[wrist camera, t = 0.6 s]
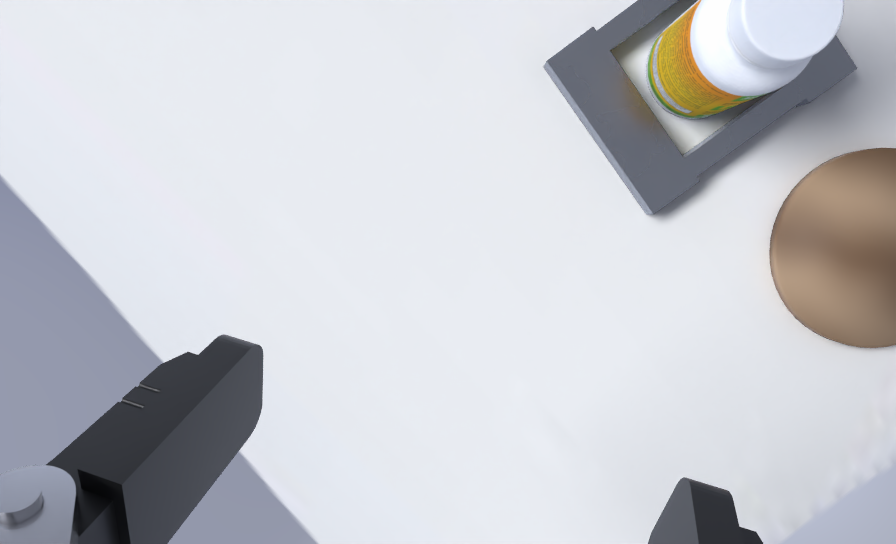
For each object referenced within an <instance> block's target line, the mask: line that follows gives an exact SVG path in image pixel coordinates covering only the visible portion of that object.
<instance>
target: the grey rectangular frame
mask: <svg viewBox="0 0 896 544" xmlns="http://www.w3.org/2000/svg"><path fill="white" fill-rule="evenodd" d="M678 1H679V0H638V1H636V2H635V3H634V4H632V5H631V6H630V7H628V8H627V9H626V10H624V11H623V12H622V13H620V14H619V15H618V16H616V17H615V18H614V19H612V20H611V21H610V22H608V23H607V24H605V25H604V26H603V27H601V28H600V29H599V30H597V31H596V30H595V28H594V27H592V28H590V29H589V30H588V31H586V32H585V33H584V34H582V35H581V36H580V37H578V38H577V39H576V40H574V41H573V42H572V43H570V44H569V45H568V46H566V47H565V48H564V49H562V50H561V51H560V52H558V53H557V54H556V55H554V56H553V57H552V58H550V59H549V60H547V61H546V63H545V65H544V66H543V67H544V69H545V70H546V72H547V73H548V74H549V76H550V77H551V79H552V80H553V82H554V83H555V84H556V86H557V87H558V89H559V90H560V92H561V93H562V94H563V96H564V97H565V99H566V100H567V102H568V103H569V104H570V106H571V107H572V109H573V110H574V112H575V113H576V114H577V116H578V117H579V119H580V120H581V122H582V123H583V125H584V126H585V127H586V129H587V130H588V132H589V133H590V135H591V136H592V137H593V139H594V140H595V142H596V143H597V145H598V146H599V147H600V149H601V150H602V152H603V153H604V155H605V156H606V157H607V159H608V160H609V162H610V163H611V165H612V166H613V167H614V169H615V170H616V172H617V173H618V175H619V176H620V178H621V179H622V180H623V182H624V183H625V185H626V186H627V188H628V189H629V190H630V192H631V193H632V195H633V196H634V198H635V199H636V200H637V202H638V203H639V205H640V206H641V208H642V209H643V210H644V212H645V213H646V214H655V213H656V212H657V211H659V210H660V209H662V208H663V207H664V206H666V205H667V204H669V203H670V202H671V201H673V200H674V199H676V198H677V197H678V196H680V195H681V194H683V193H684V192H685V191H687V190H688V189H690V188H691V187H692V186H694V185H695V184H697V183H698V182H699V180H698V178H697V176H698V175H700V174H701V173H702V172H704V171H705V170H707V169H708V168H709V167H711V166H712V165H714V164H715V163H716V162H718V161H719V160H721V159H722V158H723V157H725V156H726V155H728V154H729V153H730V152H732V151H733V150H734V149H736V148H737V147H739V146H740V145H741V144H743V143H744V142H746V141H747V140H748V139H750V138H751V137H753V136H754V135H755V134H757V133H758V132H760V131H761V130H762V129H764V128H765V127H767V126H768V125H769V124H771V123H772V122H774V121H775V120H776V119H778V118H779V117H781V116H782V115H783V114H785V113H786V112H788V111H789V110H790V109H792V108H793V107H794V106H796V107H797V106H801V105H804V104H807V103H810V102H811V101H812V100H814V99H815V98H817V97H818V96H819V95H821V94H822V93H824V92H825V91H826V90H828V89H829V88H831V87H832V86H833V85H835V84H836V83H838V82H839V81H840V80H842V79H843V78H845V77H846V76H847V75H849V74H850V73H852V72H853V71H854V70H856V69H857V67H856V66H855V64H854V62H853V61H852V59H851V58H850V56H849V55H848V53H847V52H846V50H845V49H844V47H843V46H842V44H841V43H840V41H839V39H838V38H837V36H836V35H835V36H834V38H833V39H832V40H831V42H830V43H829V44H828V45H827V46H826V47H825V48H824V49H822V50H821V51H820V52H818V53H817V54H815V55H814V56H812V58H811V60H810V61H809V63H808V64H807V66H806V67H805V68H804V70H803V71H802V72H801V73H800V74H799V75H798V76H797V77H796V78H794V79H793V80H792V81H791V82H789V83H788V84H786V85H784V86H783V87H781V88H779V89H776V90H774V91H772V92H770V93H769V94H767V95H766V96H765V97H763V98H762V99H760V100H759V101H758V102H756V103H755V104H753V105H752V106H751V107H749V108H748V109H746V110H745V111H744V112H742V113H741V114H740V115H738V116H737V117H735V118H734V119H733V120H731V121H730V122H728V123H727V124H726V125H724V126H723V127H722V128H720V129H719V130H717V131H716V132H715V133H713V134H712V135H710V136H709V137H708V138H706V139H705V140H703V141H702V142H701V143H699V144H698V145H697V146H695V147H694V148H692V149H691V150H690V151H688V152H687V153H685V154H684V155H683V156H682V155H681V153H680V152H679V150H678V149H677V148H676V146H675V145H674V143H673V142H672V140H671V139H670V137H669V136H668V134H667V133H666V132H665V130H664V129H663V127H662V126H661V124H660V123H659V121H658V120H657V118H656V117H655V116H654V114H653V113H652V111H651V110H650V108H649V107H648V105H647V104H646V102H645V101H644V100H643V98H642V97H641V95H640V94H639V92H638V91H637V89H636V88H635V86H634V85H633V84H632V82H631V81H630V79H629V78H628V76H627V75H626V73H625V72H624V70H623V69H622V68H621V66H620V65H619V63H618V62H617V60H616V59H615V57H614V56H613V54H612V53H611V50H613V49H614V48H616V47H617V46H618V45H620V44H621V43H622V42H624V41H625V40H626V39H628V38H629V37H630V36H632V35H633V34H634V33H636V32H637V31H639V30H640V29H641V28H643V27H644V26H645V25H647V24H648V23H649V22H651V21H652V20H653V19H655V18H656V17H657V16H659V15H660V14H661V13H663V12H664V11H666V10H667V9H668V8H670V7H671V6H672V5H674V4H675V3H676V2H678Z"/></svg>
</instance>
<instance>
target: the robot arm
mask: <svg viewBox="0 0 896 544" xmlns="http://www.w3.org/2000/svg"><path fill="white" fill-rule="evenodd" d="M262 390H263V349H262V347H261V346H260V345H257V344H254V343H250V342H247V341H244V340H241V339H237V338H234V337H231V336H228V335H221V336H219V337H217V338H216V339H215V340H214V341H213V342H212V343H211V344H210V345H209V346H207V347H206V348H205V349H204V350H203V351H202V352H201V353H200V354H199V355H196V354H193V353H190V352H187V353H185V354H182V355H180V356H178V357H176V358H174V359H172V360H169V361H167V362H165V363H163V364H161V365H160V366H158V367H157V368H156V369H155V370H154V371H153V372H152V373H150V374H149V375H148V376H147V377H146V378H145V379H144V380H142V381H141V382H140V384H139V386H138V387H135V388H134V389H132V390H131V391H130V392H129V393H128V394H127V395H125V396H124V397H123V399H122V401H121V402H118V403H116V404H115V405H114V406H113V407H112V408H111V409H110V410H108V411H107V412H106V413H105V414H104V415H103V416H102V417H100V418H99V419H98V420H97V421H96V422H95V423H94V424H93V425H91V426H90V427H89V428H88V429H87V430H86V431H85V432H84V433H83V434H81V435H80V436H79V437H78V438H77V439H76V440H74V441H73V442H72V443H71V444H70V445H69V446H68V447H67V448H65V449H64V450H63V451H62V452H61V453H60V454H59V455H57V456H56V457H55V458H54V459H53V460H52V461H50V462H49V463H48V464H46V465H33V466H25V467H20V468H16V469H13V470H10V471H7V472H5V473H2V474H0V544H167V543H168V542H169V540H170V539H171V538H172V537H173V535H174V534H175V533H176V531H177V530H178V529H179V528H180V526H181V525H182V524H183V522H184V521H185V520H186V519H187V517H188V516H189V515H190V513H191V512H192V511H193V509H194V508H195V507H196V506H197V504H198V503H199V502H200V500H201V499H202V498H203V496H204V495H205V494H206V493H207V491H208V490H209V489H210V487H211V486H212V485H213V484H214V482H215V481H216V479H217V478H218V477H219V476H220V474H221V473H222V472H223V471H224V469H225V468H226V467H227V465H228V464H229V463H230V461H231V460H232V459H233V458H234V456H235V455H236V454H237V452H238V451H239V450H240V449H241V447H242V446H243V445H244V443H245V442H246V441H247V439H248V438H249V437H250V435H251V434H252V432H253V431H254V429H255V427H256V424H257V422H258V420H259V417H260V413H261V409H262ZM648 544H763V542H762V541H761V539H760V537H759V536H758V534H757V533H756V532H754V531H751V530H748V529H745V528H742V527H739V524H738V519H737V515H736V510H735V506H734V501H733V498H732V495H731V494H730V492H729V491H727V490H724V489H721V488H718V487H714V486H711V485H708V484H705V483H701V482H698V481H695V480H692V479H688V478H682V479H681V480H680V481H679V482H678V484H677V485H676V487H675V489H674V491H673V493H672V495H671V497H670V499H669V501H668V502H667V504H666V506H665V508H664V510H663V512H662V514H661V516H660V517H659V519H658V521H657V523H656V525H655V527H654V529H653V531H652V533H651V536H650V539H649V542H648Z"/></svg>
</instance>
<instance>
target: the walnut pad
mask: <svg viewBox="0 0 896 544" xmlns="http://www.w3.org/2000/svg"><path fill="white" fill-rule="evenodd" d="M770 266H771V272H772V277H773V280H774V283H775V286H776V289H777V291H778V293H779V295H780V297H781V299H782V301H783V302H784V304H785V305H786V307H787V308H788V310H789V311H790V312H791V313H792V314H793V315H794V317H795V318H796V319H797V320H798V321H800V322H801V323H802V324H803V325H804V326H805V327H807V328H809V329H810V330H812V331H813V332H815V333H817V334H819V335H821V336H823V337H825V338H827V339H830V340H833V341H837V342H840V343H843V344H846V345H850V346H856V347H865V348H878V347H888V346H892V345H896V148H876V149H867V150H860V151H856V152H851V153H846V154H844V155H841V156H838V157H835V158H833V159H831V160H829V161H827V162H825V163H823V164H821V165H820V166H818V167H817V168H815V169H814V170H812V171H811V172H810V173H809V174H807V175H806V176H805V177H804V178H803V179H802V180H801V181H800V182H799V183H798V184H797V185H796V186H795V187H794V188H793V190H792V191H791V192H790V194H789V195H788V197H787V198H786V199H785V201H784V203H783V205H782V207H781V208H780V210H779V212H778V215H777V217H776V220H775V223H774V226H773V230H772V235H771V240H770Z"/></svg>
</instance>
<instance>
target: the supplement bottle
mask: <svg viewBox="0 0 896 544" xmlns="http://www.w3.org/2000/svg"><path fill="white" fill-rule="evenodd" d="M843 12H844V0H698V1H697V2H696V3H694V4H693V5H692V6H691V7H690V8H689V9H688V10H686V11H685V12H684V13H683V14H682V15H681V16H679V17H678V18H677V19H676V20H675V21H674V22H673V23H671V24H670V25H669V26H668V27H667V28H666V29H665V30H664V31H663V32H662V33H661V34H660V35H659V36H658V37H657V39H656V40H655V42H654V43H653V45H652V47H651V49H650V52H649V55H648V58H647V63H646V80H647V84H648V87H649V90H650V92H651V94H652V96H653V97H654V99H655V100H656V102H657V103H658V104H659V105H660V106H661V107H662V108H663V109H665V110H666V111H668V112H670V113H671V114H674V115H676V116H679V117H682V118H688V119H698V118H704V117H708V116H711V115H714V114H717V113H719V112H722V111H724V110H727V109H729V108H732V107H734V106H736V105H739V104H741V103H744V102H746V101H749V100H752V99H754V98H757V97H759V96H762V95H764V94H767V93H770V92H772V91H774V90H776V89H779V88H781V87H783V86H784V85H786V84H788V83H789V82H791V81H792V80H793V79H794V78H796V77H797V76H798V75H799V74H800V73H801V72H802V71H803V70H804V68H805V67H806V66H807V64H808V63H809V61H810V60H811V58H812V56H814V55H815V54H817V53H818V52H820V51H821V50H822V49H824V48H825V47H826V46H827V45H828V44H829V43H830V42H831V40H832V39H833V38H834V36H835V35H836V33H837V31H838V29H839V27H840V24H841V21H842V17H843Z"/></svg>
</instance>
